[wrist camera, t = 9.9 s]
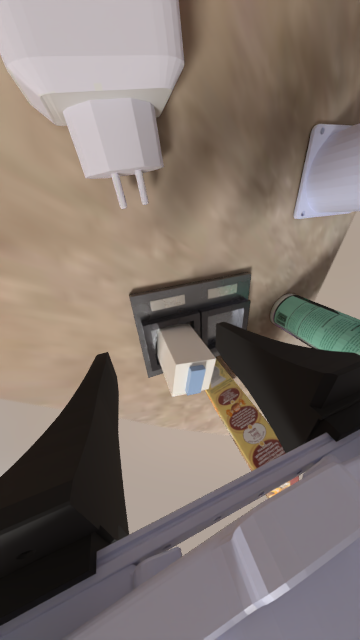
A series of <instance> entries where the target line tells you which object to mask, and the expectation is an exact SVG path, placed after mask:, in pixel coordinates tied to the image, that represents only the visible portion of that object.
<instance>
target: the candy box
mask: <svg viewBox="0 0 360 640" xmlns="http://www.w3.org/2000/svg"><path fill="white" fill-rule="evenodd" d="M215 358H216V357H215ZM205 391H206V393H207V395H208V397H209V399H210V401H211V402H212V404H213V406H214V408H215V409H216V411H217V413H218V415H219V416H220V418H221V420H222V422H223V423H224V425H225V427H226V429H227V430H228V432H229V434H230V436H231V437H232V439H233V441H234V442H235V444H236V446H237V447H238V449H239V451H240V452H241V454H242V456H243V458H244V459H245V461H246V463H247V464H248V466H249V468H250V470H251V471H253V470H255V469H257V468H259V467H261V466H263V465H265V464H266V463H268V462H270V461H272V460H274V459H276V458H278V457H280V456H282V455H284V454H286V453H285V451H284V449H283V447H282V446H281V444H280V442H279V440H278V438H277V437H276V435H275V433H274V431H273V429H272V428H271V426H270V425H269V423H268V422H267V421H266V420H265V418H264V417H263V416H262V415H261V413H260V412H259V411H258V410H257V408H256V407H255V406H254V405H253V404H252V402H251V401H250V400H249V399H248V397H247V396H246V395H245V394H244V392H243V391H242V390H241V389H240V387H239V386H238V385H237V384H236V383H235V381H234V380H233V379H232V378H231V376H230V375H229V374H228V373H227V371H226V370H225V369H224V368H223V366H222V365H221V364H220V363H219V361H218V360H217V359H216V361H215V365H214V369H213V373H212V377H211V381H210V385H209V389H206V390H205ZM298 481H299V476H297V477H295V478H293V479H292V480H290V481H288V482H286V483H285V484H283V485H281V486H279V487H278V488H276V489H274V490H272V491H271V492H269V493H267V494H266V496H267V497H268V498H270V497H272V496H274V495H275V494H277V493H279V492H281V491H282V490H284V489H286V488H287V487H289V486H291V485H293V484H294V483H296V482H298Z"/></svg>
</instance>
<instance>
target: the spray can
mask: <svg viewBox="0 0 360 640" xmlns="http://www.w3.org/2000/svg"><path fill="white" fill-rule="evenodd" d="M270 320H271V322H272V323H273V324H275V325H276V326H278V327H279V328H281V329H283V330H284V331H286V332H287V333H289V334H291V335H292V336H294V337H295V338H297V339H299V340H301V341H302V342H304V343H305V344H307V345H308V346H310V347H312V348H314V349H321V350H329V351H340V352H352V353H356V354H358V355H360V320H359V319H356V318H353V317H351V316H349V315H346V314H343V313H341V312H338V311H336V310H333V309H331V308H328V307H326V306H323V305H321V304H318V303H315V302H313V301H311V300H308V299H305V298H303V297H300V296H298V295H295V294H286V295H284V296H282V297H281V298H280V299H278V300H277V301H276V303H275V304H274V306H273V307H272V309H271V313H270Z"/></svg>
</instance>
